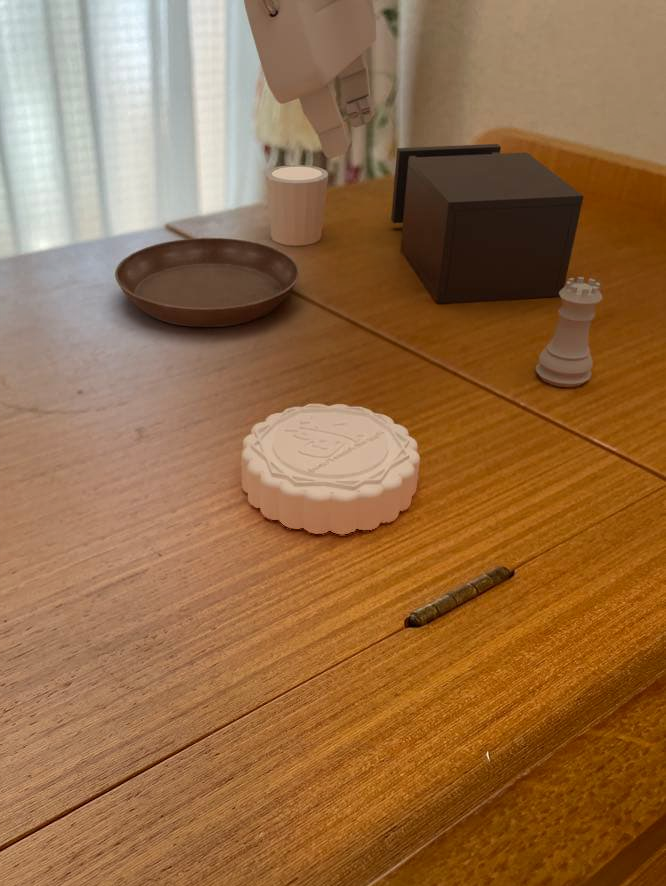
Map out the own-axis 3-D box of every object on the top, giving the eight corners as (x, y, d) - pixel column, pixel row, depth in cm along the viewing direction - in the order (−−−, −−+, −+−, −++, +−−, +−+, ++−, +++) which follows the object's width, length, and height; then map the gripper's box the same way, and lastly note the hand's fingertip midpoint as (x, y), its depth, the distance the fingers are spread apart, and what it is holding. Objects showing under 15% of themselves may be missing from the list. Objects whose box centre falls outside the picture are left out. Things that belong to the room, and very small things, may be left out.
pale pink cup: (293, 252, 95) (293, 186, 91) (253, 235, 99) (252, 171, 95) (338, 237, 98) (341, 173, 94) (298, 222, 103) (299, 160, 98)
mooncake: (326, 421, 67) (328, 379, 65) (451, 486, 60) (458, 442, 58) (206, 482, 61) (203, 438, 58) (330, 563, 54) (332, 516, 51)
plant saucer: (322, 277, 89) (323, 248, 87) (260, 350, 76) (259, 318, 74) (167, 256, 94) (165, 228, 92) (84, 321, 82) (80, 290, 80)
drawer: (382, 207, 104) (387, 137, 99) (475, 203, 105) (485, 133, 100) (421, 262, 90) (429, 184, 85) (527, 257, 91) (542, 179, 86)
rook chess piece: (589, 392, 70) (613, 297, 65) (531, 384, 71) (551, 290, 66) (591, 368, 73) (614, 275, 68) (536, 360, 74) (555, 269, 69)
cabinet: (400, 250, 95) (408, 157, 89) (511, 244, 96) (527, 152, 90) (436, 304, 84) (448, 202, 78) (562, 296, 85) (584, 195, 79)
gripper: (294, -95, 48) (369, 159, 55) (361, -104, 63) (412, 95, 70) (195, -46, 50) (278, 191, 57) (283, -66, 66) (340, 122, 73)
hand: (352, 137), depth 64 cm, fingers open, 8 cm apart
